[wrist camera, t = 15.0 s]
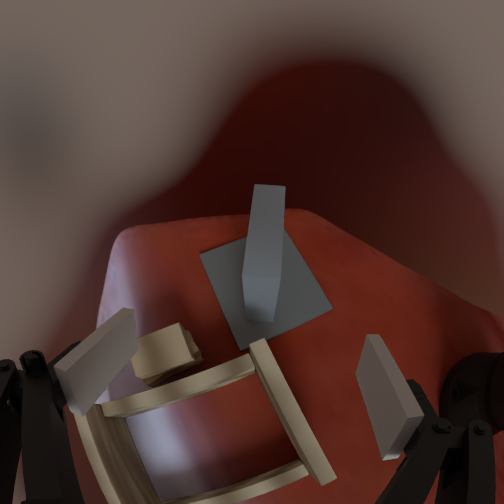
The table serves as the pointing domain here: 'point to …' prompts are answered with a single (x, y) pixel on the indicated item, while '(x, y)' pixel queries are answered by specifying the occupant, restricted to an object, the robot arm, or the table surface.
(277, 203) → the grey rectangular block
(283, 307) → the mat
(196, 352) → the offcut
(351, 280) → the table surface
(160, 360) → the offcut
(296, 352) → the table surface
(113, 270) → the table surface
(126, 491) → the rack
